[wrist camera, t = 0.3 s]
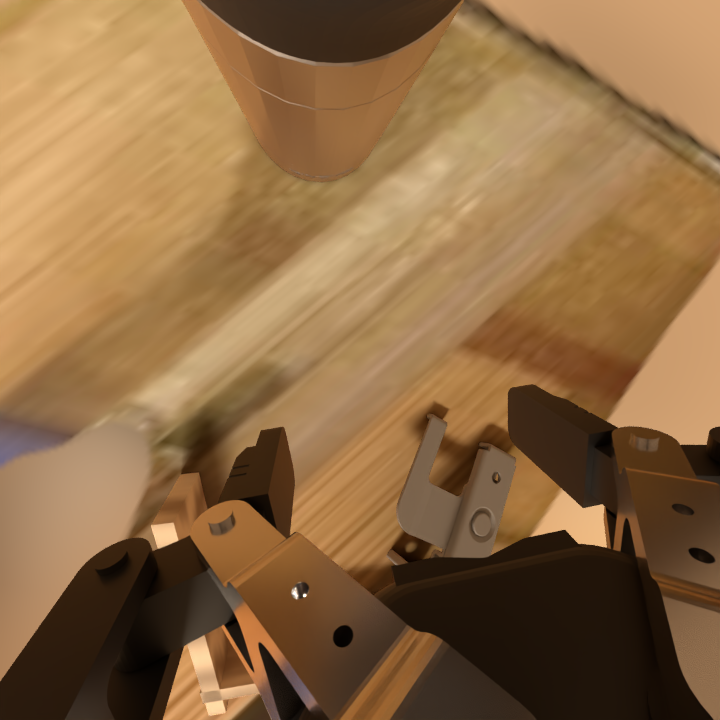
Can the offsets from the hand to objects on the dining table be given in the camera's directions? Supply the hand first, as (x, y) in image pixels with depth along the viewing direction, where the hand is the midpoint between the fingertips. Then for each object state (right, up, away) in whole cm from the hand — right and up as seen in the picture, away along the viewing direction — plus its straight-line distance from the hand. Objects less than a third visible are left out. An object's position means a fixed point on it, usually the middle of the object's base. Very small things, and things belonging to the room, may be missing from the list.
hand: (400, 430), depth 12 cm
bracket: (+5, -11, +24) cm, 27 cm away
